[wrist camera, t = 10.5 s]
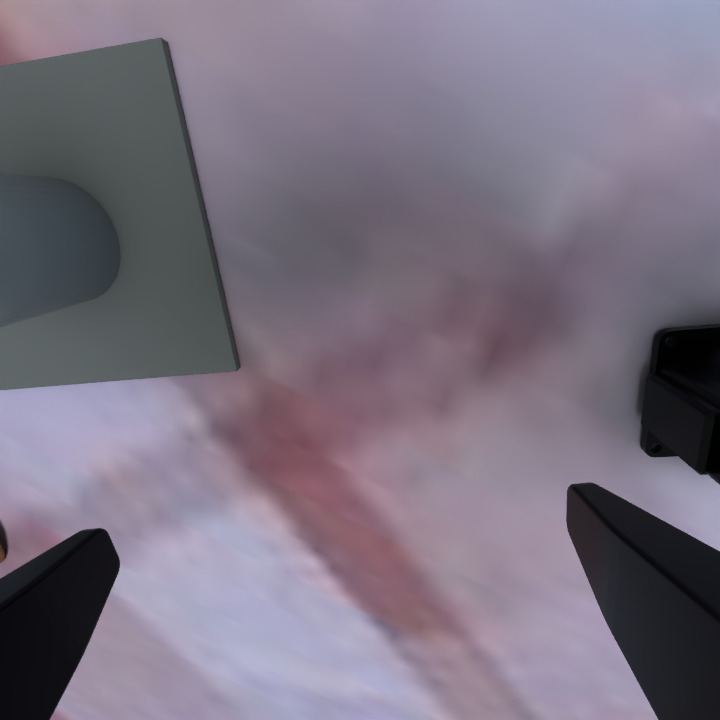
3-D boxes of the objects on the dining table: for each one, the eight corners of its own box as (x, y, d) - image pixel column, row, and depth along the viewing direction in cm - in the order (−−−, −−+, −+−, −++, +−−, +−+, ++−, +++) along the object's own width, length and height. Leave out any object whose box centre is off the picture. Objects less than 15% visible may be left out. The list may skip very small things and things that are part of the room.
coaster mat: (167, 42, 17) (160, 37, 16) (240, 367, 21) (236, 370, 21) (-132, 95, 18) (-146, 92, 18) (-4, 387, 23) (-12, 390, 22)
